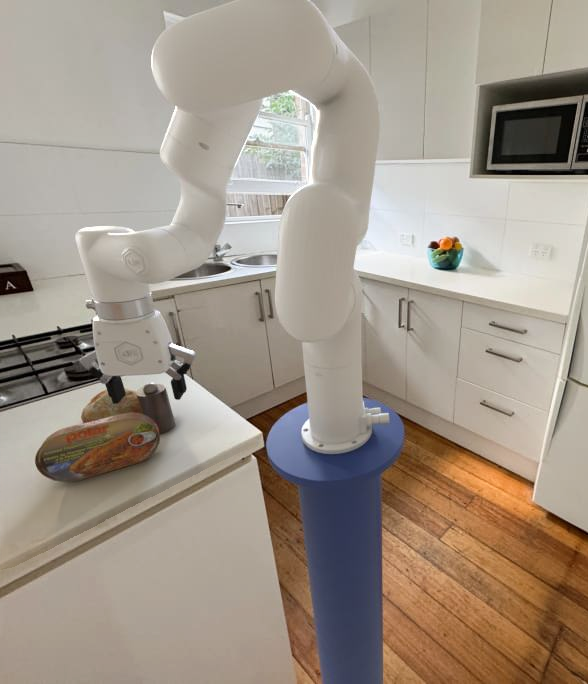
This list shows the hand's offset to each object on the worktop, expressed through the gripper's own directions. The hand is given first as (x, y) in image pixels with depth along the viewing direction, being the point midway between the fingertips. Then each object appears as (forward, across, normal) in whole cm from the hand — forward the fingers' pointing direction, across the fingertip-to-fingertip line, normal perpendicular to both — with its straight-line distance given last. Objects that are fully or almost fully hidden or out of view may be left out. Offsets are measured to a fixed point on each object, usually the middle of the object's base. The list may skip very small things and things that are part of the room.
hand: (150, 397), depth 68 cm
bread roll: (+7, -8, +4) cm, 11 cm away
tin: (+7, -3, -10) cm, 12 cm away
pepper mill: (+6, +1, 0) cm, 6 cm away
